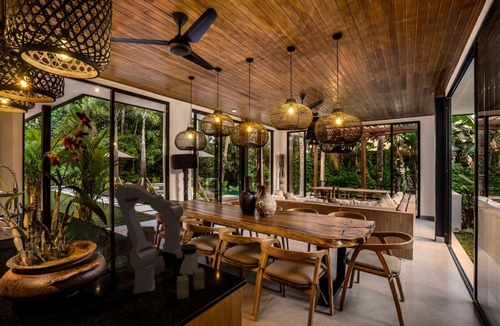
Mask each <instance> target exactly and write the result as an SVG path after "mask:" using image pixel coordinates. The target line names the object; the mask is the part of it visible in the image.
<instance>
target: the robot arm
mask: <svg viewBox="0 0 500 326" xmlns="http://www.w3.org/2000/svg"><path fill="white" fill-rule="evenodd" d="M114 196H115V199H116V202H117V205H118V206H119V209H120V212H121V215H122V218H123V220H124V224H125V226H126V230H127V231H128V232H129V235H130V238H131V241H132V244H133V248H132V249H131V251H130V252H129V255H130V263H131V266H132V267H133V269H135V273H134V286H133V292H132V293H133V295H136V294H141V293H142V294H143V293H147V292H148V293H149V292H153V291H155V290H156V286H155V285H156V282H155V265H156V262H157V261H158V258H159V253H160V254H161V257H162V259H163V263H164V264H163V265H164V267H165V269H171V270H172V275H173V276H178V275H180V273H179V272H180V268H181V265H182V262H183V260H184V259H185V255H183V252H182V251H181V247H180V246H181V218H182V217H183V215H184V208H183V206H182V205H180V203H173V202H172V201H170V200H168V199H166V198H164V196H163V195H157V196H156V195H154V194H153V193H151V192H150V191H149V190H147V189H146V188H145V185H142V184H141V183H139V182H138V183H131V184H130V183H129V184H119V185H117V187H116V188H115V193H114ZM140 200H142V201H144V202H146V203H148V204H149V205H150V206H149V207H150V208H151V209H152V210H154V211H155V212H156V213H158V214H160V215H161V218H162V221H163V223H162V224H163V225H164V242H163V243H162V248H160V250H159V252H158V250H157V248H156V246H155V247H154V246H153V243H151V242H148V241H147V240H146V238H145V235H144V232H143V229H142V227H141V226H142V224H141V222H140V219H139V216H138V214H137V210H136V208H135V206H136V205H137V204H138V203H139V202H140ZM142 250H143V251H142ZM139 251H141V252H139Z"/></svg>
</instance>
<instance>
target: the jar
mask: <svg viewBox="0 0 500 326" xmlns="http://www.w3.org/2000/svg"><path fill="white" fill-rule="evenodd" d="M180 247H181V251H182V252H183V255H185V259H184V260H183V262H182V265H181V268H180V272H179V275H181V276H184V275H187V276H191V275H192V276H193V269H197V268H198V265H199V264H198V263H199V261H198V260H199V259H198V258H199V251H198V250H197V249H198V245H197V244H194V243H186V244H185V243H184V244H182V245H181V244H180Z"/></svg>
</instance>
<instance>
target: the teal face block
mask: <svg viewBox="0 0 500 326" xmlns="http://www.w3.org/2000/svg"><path fill="white" fill-rule="evenodd" d="M189 280H190V279H189V275H180V276H178V275H177V276H176V298H177V300H183V299H188V298H190V297H189V294H190V293H189V284H190V283H189V282H190V281H189Z"/></svg>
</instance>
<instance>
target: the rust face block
mask: <svg viewBox="0 0 500 326" xmlns="http://www.w3.org/2000/svg"><path fill="white" fill-rule="evenodd" d="M192 287H193V290H194V291H196V290H198V291H199V290H202V289H205V270H204V268H203V267H200V268H197V269H193V274H192Z"/></svg>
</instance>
